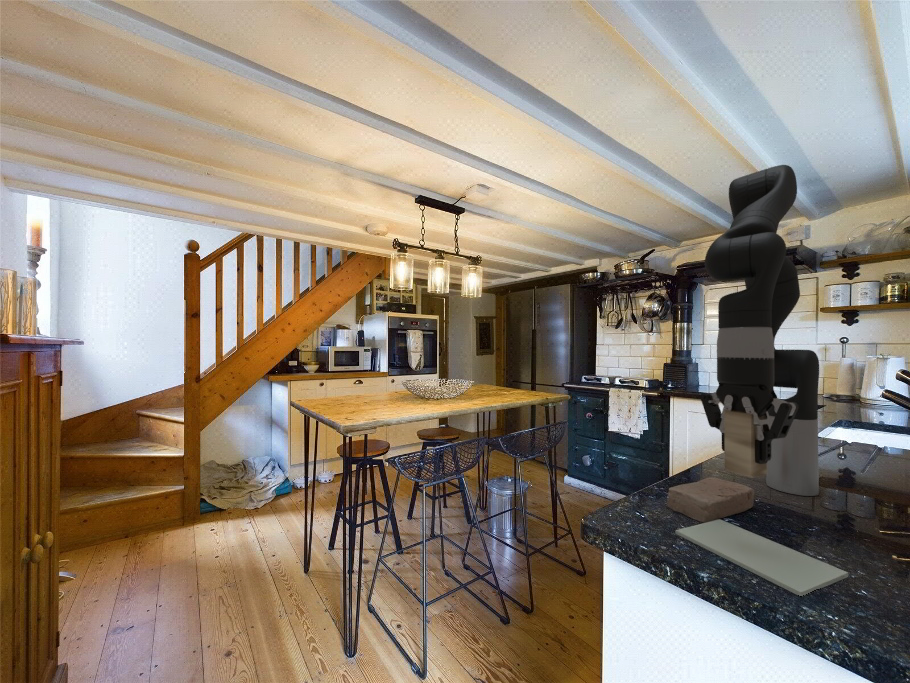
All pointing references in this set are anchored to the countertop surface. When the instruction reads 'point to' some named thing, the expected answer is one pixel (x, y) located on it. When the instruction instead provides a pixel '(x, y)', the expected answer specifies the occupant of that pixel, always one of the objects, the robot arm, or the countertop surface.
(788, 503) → the countertop surface
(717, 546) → the flat grey rectangular slab
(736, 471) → the beech block
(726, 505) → the brick
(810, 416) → the robot arm
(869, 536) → the countertop surface
